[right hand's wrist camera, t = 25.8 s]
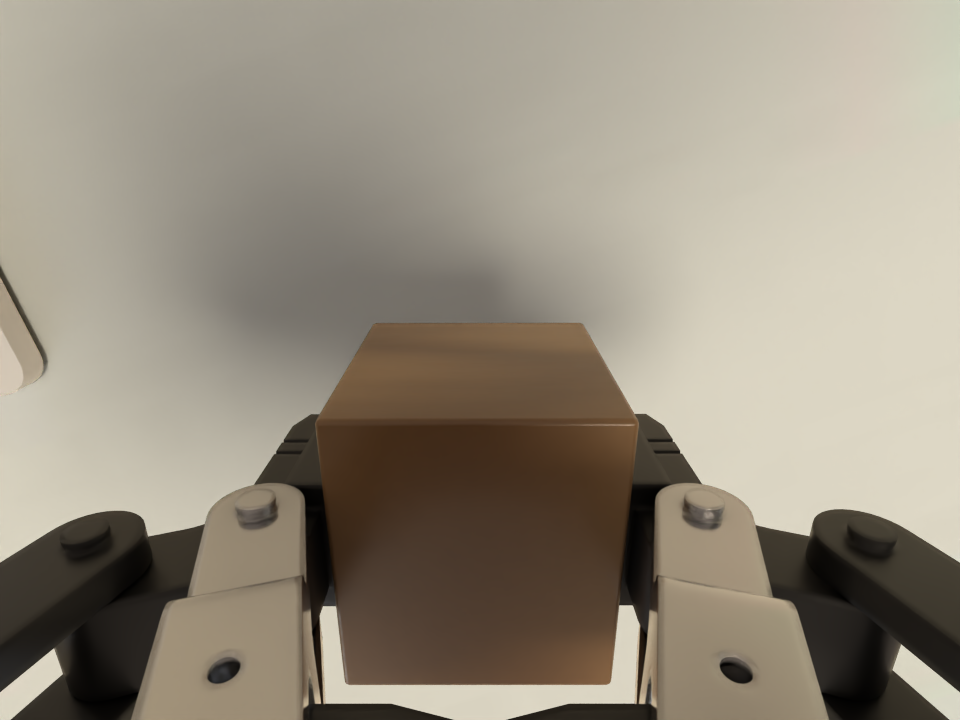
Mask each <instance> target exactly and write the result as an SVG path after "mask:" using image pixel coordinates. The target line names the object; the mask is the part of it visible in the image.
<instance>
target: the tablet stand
mask: <svg viewBox="0 0 960 720" xmlns="http://www.w3.org/2000/svg"><path fill="white" fill-rule="evenodd" d="M42 372H43V360H42V357H41V355H40V353H39V351H38V349H37V347H36V345H35V343H34V341H33V339H32V337H31V335H30V333H29V331H28V330H27V328H26V326H25V324H24V322H23V320H22V318H21V316H20V314H19V312H18V310H17V308H16V307H15V305H14V303H13V301H12V299H11V297H10V295H9V293H8V291H7V289H6V287H5V285H4V284H3V282H2V280H1V278H0V396H4V395H8V394H12V393H14V392H16V391H18V390H19V389H21V388H23V387H25V386H27V385H29V384H31V383H33V382H35V381H36V380H38V379H39V377H40V376H41V374H42Z"/></svg>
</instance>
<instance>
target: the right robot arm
mask: <svg viewBox="0 0 960 720" xmlns="http://www.w3.org/2000/svg"><path fill="white" fill-rule="evenodd" d="M319 415H320V414H311V415H309V416H308V417H306V418H305V419H303V420H302V421H300V422H299V423H297V424H296V425H294V426H293V427H292V428H291V430H290V431H289V433H288V434H287V436H286V437H285V439H284V443H281V445H280V446H279V448H278V450H277V451H276V454H274V456H273V457H272V459H271V460H270V462H269V463H268V465H267V466H266V468H265V469H264V471H263V472H262V474H261V475H260V477H259V478H258V480H257V481H256V483H255V484H254V485H252V486H248V487H245V488H242V489H239V490H236V491H234V492H232V493H230V494H228V495H226V496H225V497H223V498H222V499H220V500H219V501H218V502H216V503H215V505H214V506H213V507H212V508H211V509H210V511H209V512H208V515H207V518H206V522H205V524H204V525H201V526H197V527H194V528H189V529H185V530H180V531H175V532H170V533H165V534H160V535H154V536H149V537H148V535H147V531H146V527H145V523H144V520H143V519H142V518H141V517H140V516H139V515H137V514H135V513H132V512H127V511H107V512H100V513H95V514H91V515H87V516H84V517H81V518H78V519H75V520H72V521H70V522H68V523H65V524H63V525H61V526H59V527H57V528H56V529H54V530H52V531H50V532H49V533H47V534H45V535H44V536H42V537H41V538H39V539H37V540H36V541H34V542H33V543H31V544H29V545H28V546H26V547H25V548H23V549H21V550H20V551H18V552H17V553H15V554H13V555H12V556H10V557H9V558H7V559H5V560H4V561H2V562H1V563H0V692H1V691H2V690H3V689H4V688H6V687H7V686H8V685H9V684H11V683H12V682H13V681H14V680H15V679H17V678H18V677H19V676H20V675H22V674H23V673H24V672H25V671H26V670H28V669H29V668H30V667H31V666H33V665H34V664H35V663H36V662H37V661H39V660H40V659H41V658H42V657H44V656H45V655H46V654H47V653H48V652H50V651H51V650H52V649H53V648H54V649H55V652H56V655H57V657H58V660H59V663H60V666H61V669H62V672H63V675H62V676H60V677H59V678H58V679H57V680H56V681H55V682H53V683H52V684H51V685H50V686H49V687H48V688H47V689H45V690H44V691H43V692H42V693H41V694H40V695H39V696H37V697H36V698H35V699H34V700H33V701H32V702H31V703H29V704H28V705H27V706H26V707H25V708H24V709H23V710H21V711H20V712H19V713H18V714H17V715H16V716H15V717H13V718H12V719H11V720H452V719H448V718H444V717H440V716H437V715H433V714H429V713H425V712H421V711H417V710H413V709H409V708H405V707H401V706H398V705H394V704H326V702H325V682H324V661H323V641H322V632H321V624H320V613H321V610H322V607H323V606H336V600H335V591H334V583H333V574H332V565H331V557H330V548H329V540H328V531H327V522H326V514H325V505H324V496H323V488H322V479H321V470H320V462H319V453H318V444H317V436H316V427H315V423H316V420H317V418H318V416H319ZM635 416H636V418H637V419H638V422H639V428H638V437H637V446H636V455H635V464H634V474H633V483H632V492H631V501H630V510H629V520H628V529H627V538H626V547H625V556H624V566H623V575H622V584H621V593H620V602H619V605H633V606H634V610H635V613H636V616H637V619H638V621H639V623H640V624H639V632H638V642H637V662H636V682H635V703H634V704H566V705H562V706H559V707H555V708H551V709H547V710H543V711H539V712H535V713H531V714H527V715H523V716H520V717H516V718H512V719H508V720H949V719H948V718H947V717H945V716H944V715H943V714H942V713H941V712H940V711H939V710H937V709H936V708H935V707H934V706H933V705H932V704H931V703H929V702H928V701H927V700H926V699H925V698H924V697H923V696H921V695H920V694H919V693H918V692H917V691H916V690H914V689H913V688H912V687H911V686H910V685H909V684H908V683H906V682H905V681H904V680H903V679H902V678H901V677H900V676H898V675H897V674H896V673H895V672H894V671H893V670H892V669H893V666H894V663H895V660H896V658H897V655H898V652H899V649H900V646H901V644H902V645H903V646H904V647H905V648H907V649H908V650H909V651H910V652H911V653H913V654H914V655H915V656H916V657H918V658H919V659H920V660H921V661H922V662H924V663H925V664H926V665H927V666H929V667H930V668H931V669H932V670H933V671H935V672H936V673H937V674H938V675H940V676H941V677H942V678H943V679H944V680H946V681H947V682H948V683H949V684H951V685H952V686H953V687H954V688H955V689H957V690H958V691H959V692H960V563H959V562H958V561H956V560H955V559H953V558H951V557H950V556H948V555H947V554H945V553H943V552H942V551H940V550H939V549H937V548H935V547H934V546H932V545H931V544H929V543H927V542H926V541H924V540H923V539H921V538H919V537H918V536H916V535H915V534H913V533H911V532H910V531H908V530H906V529H905V528H903V527H901V526H899V525H897V524H895V523H893V522H891V521H889V520H886V519H884V518H881V517H879V516H875V515H872V514H869V513H865V512H860V511H854V510H844V509H836V510H828V511H825V512H822V513H820V514H818V515H817V516H816V517H815V518H814V521H813V524H812V528H811V532H810V536H805V535H800V534H794V533H789V532H784V531H779V530H774V529H769V528H765V527H760V526H757V525H755V522H754V518H753V515H752V512H751V511H750V509H749V508H748V507H747V505H746V504H745V503H744V502H742V501H741V500H740V499H738V498H737V497H735V496H734V495H732V494H730V493H728V492H726V491H724V490H721V489H718V488H715V487H712V486H708V485H703V484H702V483H701V482H700V480H699V479H698V477H697V476H696V474H695V473H694V471H693V470H692V468H691V467H690V465H689V464H688V462H687V461H686V459H685V458H684V456H683V454H680V450H679V448H678V447H677V445H676V444H675V442H673V439H672V438H671V436H670V435H669V433H668V432H667V430H666V428H665V427H664V426H663V425H662V424H660V423H659V422H657V421H656V420H654V419H653V418H651V417H650V416H648V415H647V414H635Z"/></svg>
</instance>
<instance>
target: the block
mask: <svg viewBox="0 0 960 720" xmlns="http://www.w3.org/2000/svg"><path fill="white" fill-rule="evenodd" d="M315 427H316V436H317V444H318V453H319V462H320V470H321V479H322V488H323V496H324V505H325V514H326V522H327V531H328V540H329V548H330V557H331V565H332V574H333V583H334V591H335V600H336V609H337V617H338V626H339V635H340V643H341V652H342V661H343V669H344V678H345V682H346V684H349V685H607V684H609V683H610V682H611V676H612V667H613V658H614V648H615V639H616V630H617V621H618V612H619V602H620V593H621V584H622V575H623V566H624V556H625V547H626V538H627V529H628V520H629V510H630V501H631V492H632V483H633V474H634V464H635V455H636V446H637V437H638V428H639V422H638V419H637V418H636V416H635V414H634V412H633V411H632V409H631V407H630V405H629V404H628V402H627V400H626V399H625V397H624V395H623V393H622V392H621V390H620V388H619V386H618V385H617V383H616V381H615V379H614V378H613V376H612V374H611V372H610V371H609V369H608V367H607V365H606V364H605V362H604V360H603V358H602V357H601V355H600V353H599V352H598V350H597V348H596V346H595V345H594V343H593V341H592V339H591V338H590V336H589V334H588V332H587V331H586V329H585V327H584V325H583V324H581V323H376V324H373V326H372V328H371V329H370V331H369V333H368V334H367V336H366V338H365V339H364V341H363V343H362V344H361V346H360V348H359V349H358V351H357V353H356V354H355V356H354V358H353V360H352V361H351V363H350V365H349V366H348V368H347V370H346V371H345V373H344V375H343V376H342V378H341V380H340V381H339V383H338V385H337V386H336V388H335V390H334V391H333V393H332V395H331V396H330V398H329V400H328V401H327V403H326V405H325V406H324V408H323V410H322V411H321V413H320V415H319V416H318V418H317V420H316V423H315Z"/></svg>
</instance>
